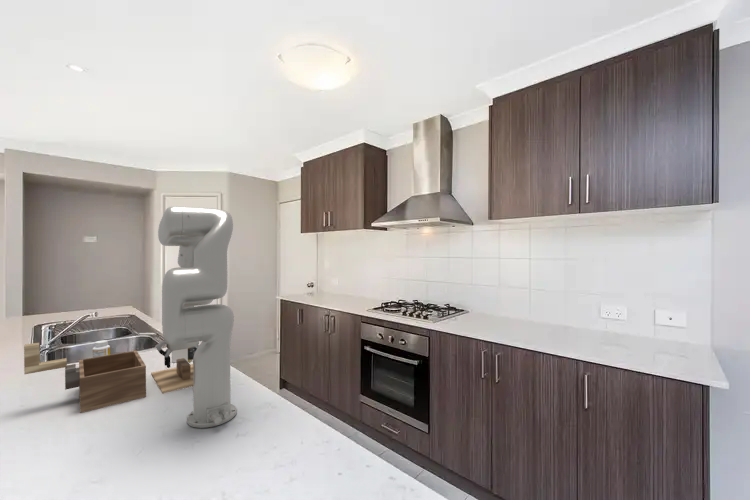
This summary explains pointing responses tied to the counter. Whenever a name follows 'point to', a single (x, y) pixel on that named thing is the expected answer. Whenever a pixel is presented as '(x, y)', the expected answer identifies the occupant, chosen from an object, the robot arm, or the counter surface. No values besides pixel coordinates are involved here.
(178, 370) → the lid
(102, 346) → the supplement bottle
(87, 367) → the brown wooden box
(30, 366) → the bent tan strip
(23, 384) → the counter surface
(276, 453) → the counter surface
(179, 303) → the robot arm
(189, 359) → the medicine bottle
